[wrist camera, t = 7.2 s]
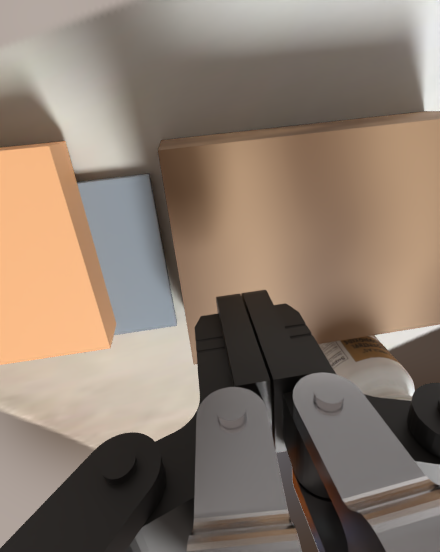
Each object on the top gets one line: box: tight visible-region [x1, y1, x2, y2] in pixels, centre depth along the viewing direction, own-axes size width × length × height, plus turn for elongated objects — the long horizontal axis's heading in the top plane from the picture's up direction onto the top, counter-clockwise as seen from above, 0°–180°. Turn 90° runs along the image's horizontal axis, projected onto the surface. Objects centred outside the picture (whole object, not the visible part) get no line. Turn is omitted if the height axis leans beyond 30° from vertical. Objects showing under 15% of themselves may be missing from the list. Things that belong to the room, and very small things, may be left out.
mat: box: [77, 174, 177, 335], centre depth 16 cm, size 8×8×1 cm
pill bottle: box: [318, 335, 415, 401], centre depth 17 cm, size 4×4×8 cm
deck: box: [158, 111, 440, 364], centre depth 15 cm, size 12×9×4 cm
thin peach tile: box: [0, 141, 116, 365], centre depth 14 cm, size 6×9×2 cm, turn 5°
